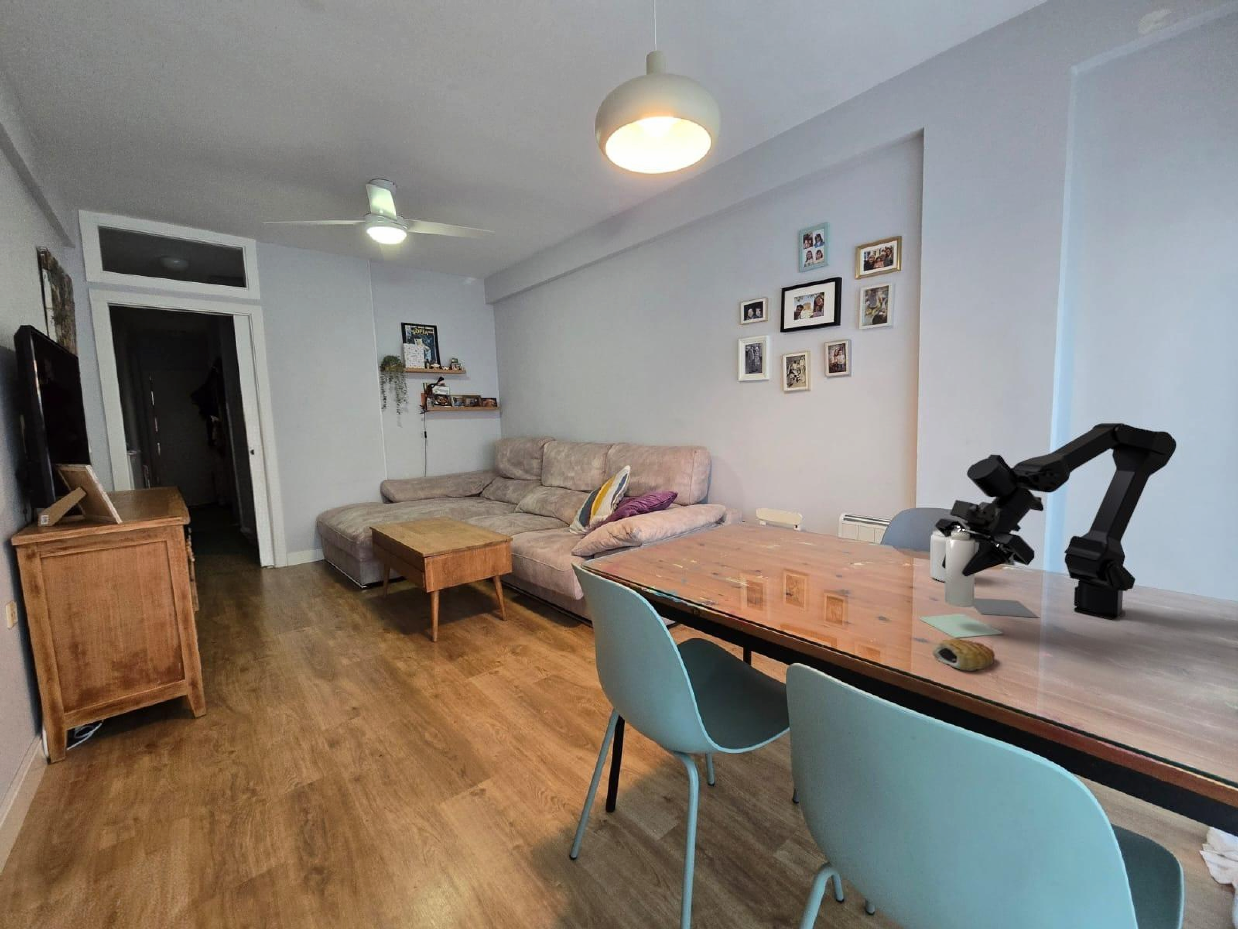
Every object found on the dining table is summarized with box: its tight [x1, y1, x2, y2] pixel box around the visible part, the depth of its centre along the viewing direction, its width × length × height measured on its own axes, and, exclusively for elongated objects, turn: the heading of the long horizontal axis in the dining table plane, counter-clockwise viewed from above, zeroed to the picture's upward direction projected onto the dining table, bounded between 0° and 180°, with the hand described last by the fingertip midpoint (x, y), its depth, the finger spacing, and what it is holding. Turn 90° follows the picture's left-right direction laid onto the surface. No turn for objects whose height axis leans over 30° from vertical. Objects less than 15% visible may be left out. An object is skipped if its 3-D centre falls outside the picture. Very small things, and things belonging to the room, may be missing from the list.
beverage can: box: [929, 530, 946, 583], centre depth 130 cm, size 8×8×12 cm
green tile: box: [917, 613, 1004, 639], centre depth 102 cm, size 10×10×1 cm
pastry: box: [932, 638, 996, 672], centre depth 87 cm, size 9×7×4 cm
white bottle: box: [944, 531, 976, 608], centre depth 101 cm, size 5×5×14 cm
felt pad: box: [973, 597, 1040, 619], centre depth 110 cm, size 10×10×1 cm
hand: (953, 571), depth 101 cm, fingers closed on white bottle, 5 cm apart
